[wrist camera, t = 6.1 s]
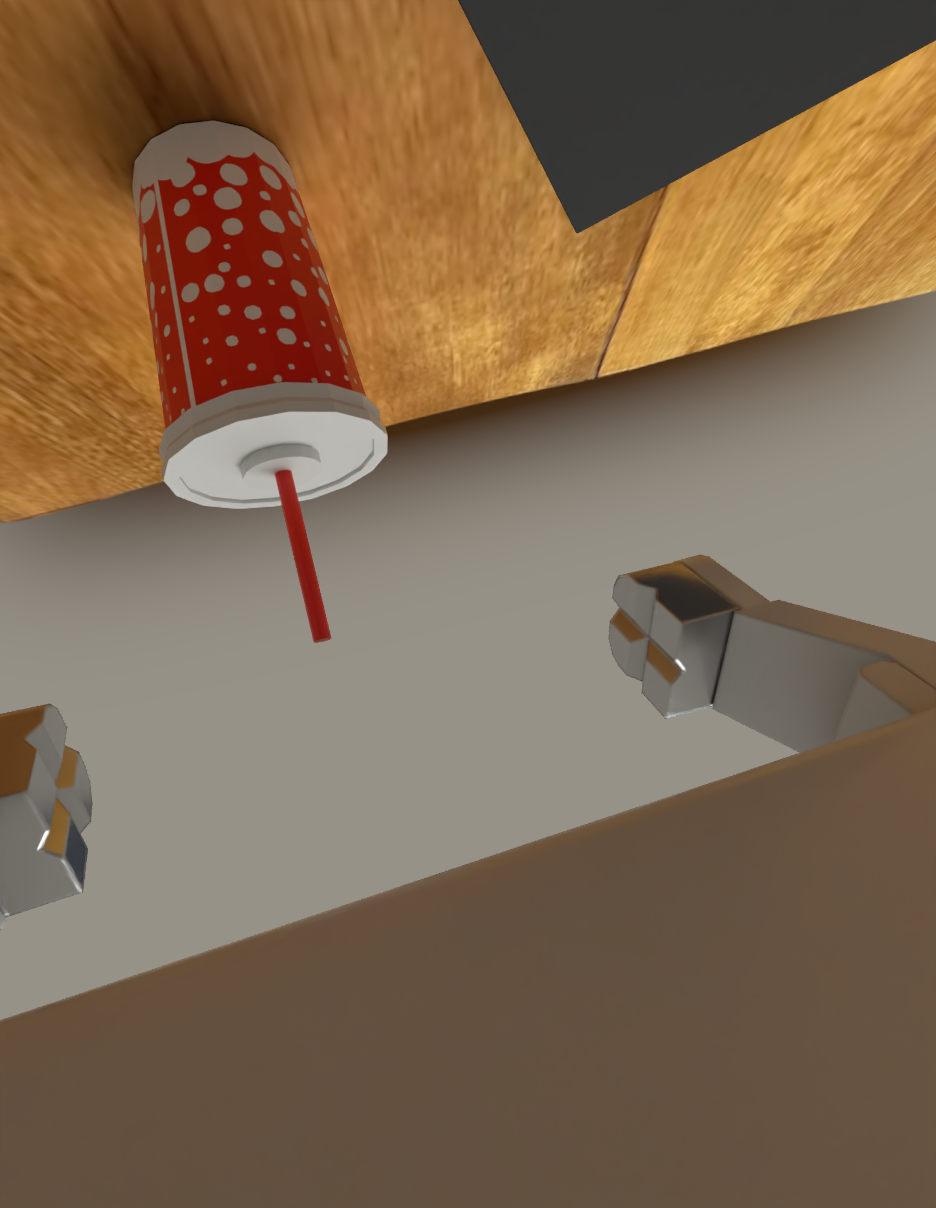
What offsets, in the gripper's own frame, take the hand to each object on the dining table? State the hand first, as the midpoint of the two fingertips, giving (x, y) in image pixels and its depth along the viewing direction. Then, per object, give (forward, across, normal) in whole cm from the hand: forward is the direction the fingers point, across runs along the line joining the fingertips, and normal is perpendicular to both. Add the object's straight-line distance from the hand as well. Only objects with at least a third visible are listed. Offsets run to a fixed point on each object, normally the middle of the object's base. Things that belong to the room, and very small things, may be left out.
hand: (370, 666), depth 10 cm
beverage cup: (+17, 0, -6) cm, 18 cm away
